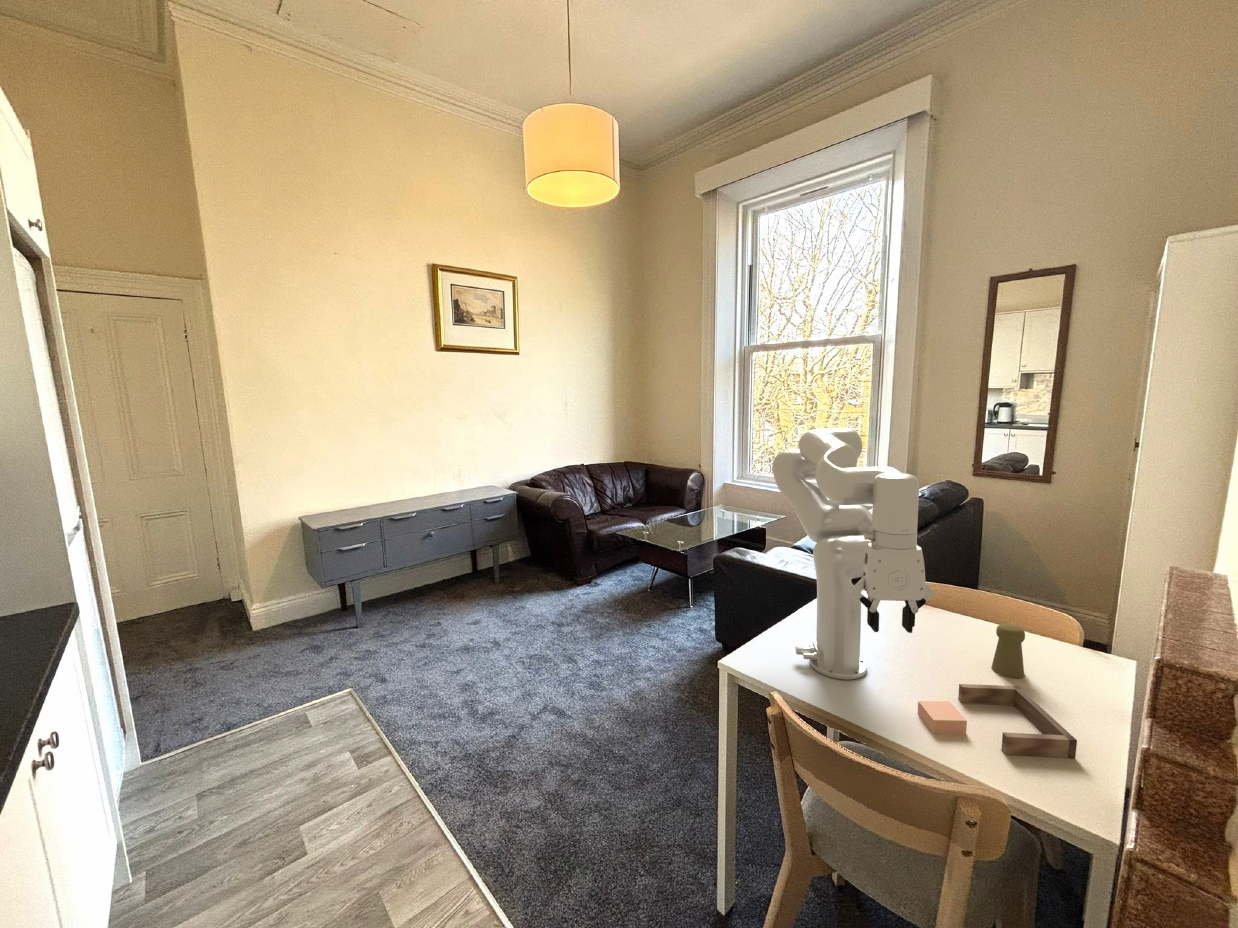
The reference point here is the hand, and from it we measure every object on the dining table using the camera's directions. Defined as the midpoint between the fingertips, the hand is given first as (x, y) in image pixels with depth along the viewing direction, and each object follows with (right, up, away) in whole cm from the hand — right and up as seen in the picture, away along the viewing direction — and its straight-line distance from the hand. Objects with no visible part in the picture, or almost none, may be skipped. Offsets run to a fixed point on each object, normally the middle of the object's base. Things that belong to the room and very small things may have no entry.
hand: (890, 628), depth 99 cm
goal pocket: (+23, -19, 0) cm, 29 cm away
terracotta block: (+11, -19, +2) cm, 22 cm away
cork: (+36, -16, +18) cm, 43 cm away
